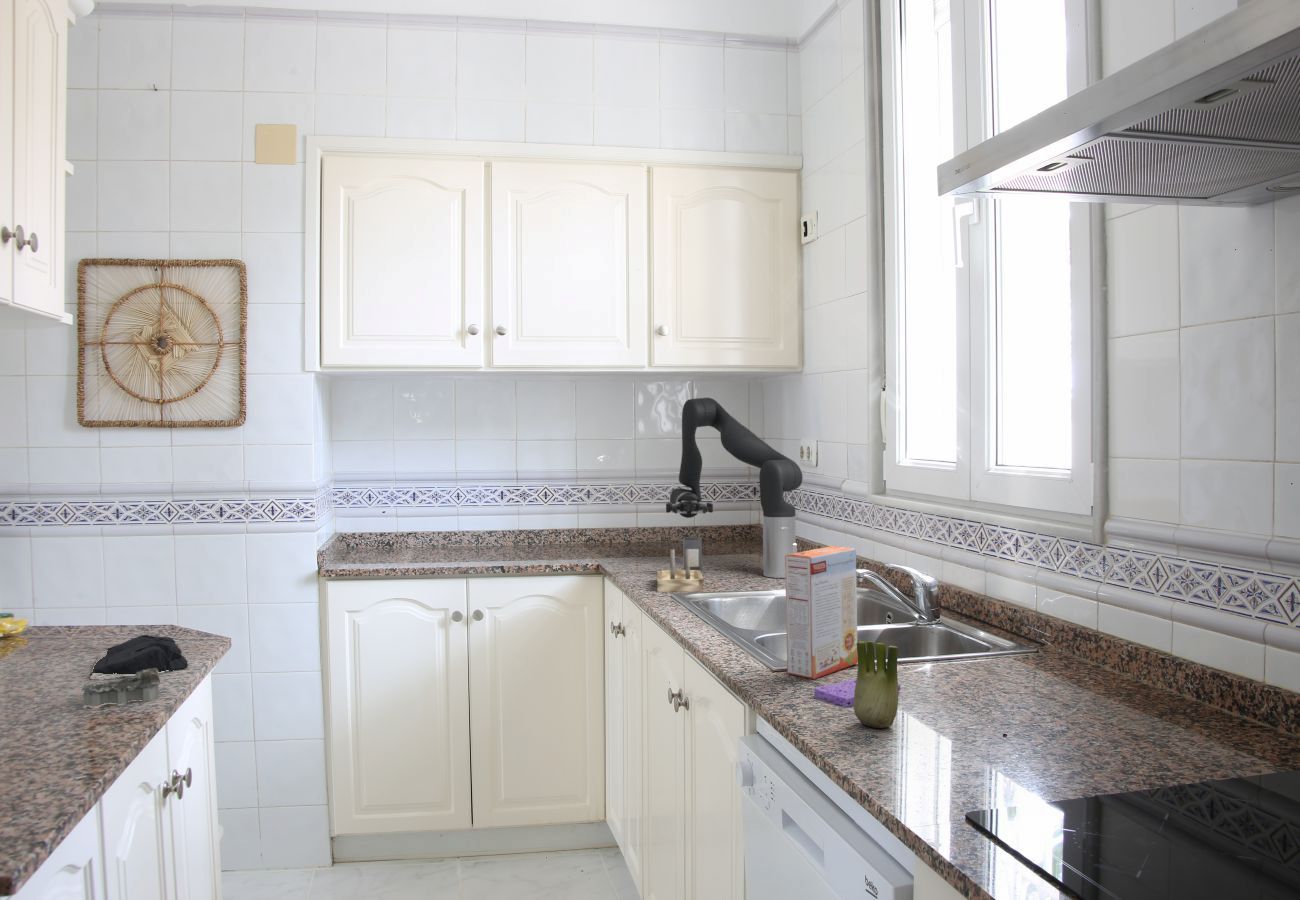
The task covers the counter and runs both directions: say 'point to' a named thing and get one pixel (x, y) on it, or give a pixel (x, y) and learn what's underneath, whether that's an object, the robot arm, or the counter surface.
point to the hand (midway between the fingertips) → (690, 509)
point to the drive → (693, 552)
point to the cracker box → (821, 611)
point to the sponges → (839, 692)
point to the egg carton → (124, 689)
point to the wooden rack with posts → (679, 577)
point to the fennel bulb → (876, 685)
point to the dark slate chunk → (142, 656)
